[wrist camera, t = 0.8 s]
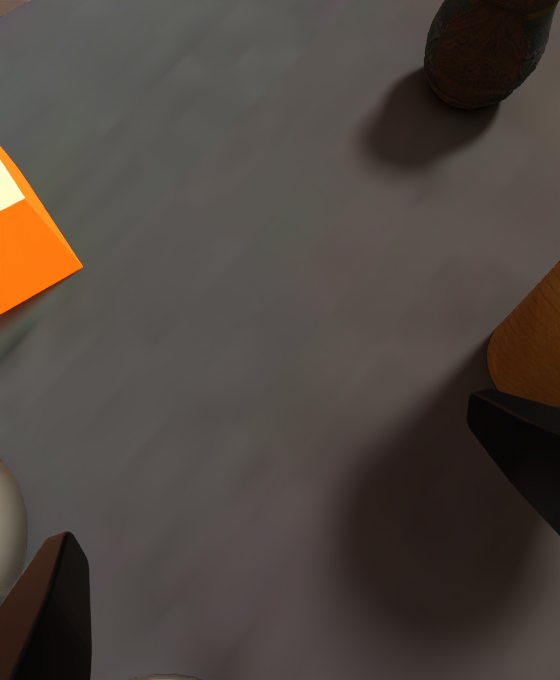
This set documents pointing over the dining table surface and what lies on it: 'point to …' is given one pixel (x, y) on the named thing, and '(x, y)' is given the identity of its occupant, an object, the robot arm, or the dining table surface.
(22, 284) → the orange juice
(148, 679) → the lid
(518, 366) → the disposable coffee cup
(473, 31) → the mate gourd
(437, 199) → the dining table surface
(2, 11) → the charger
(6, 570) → the pot
